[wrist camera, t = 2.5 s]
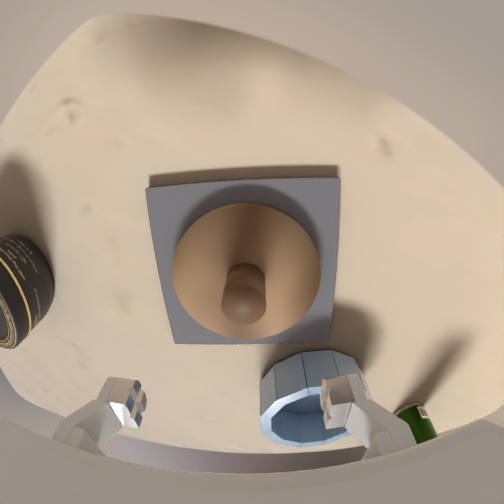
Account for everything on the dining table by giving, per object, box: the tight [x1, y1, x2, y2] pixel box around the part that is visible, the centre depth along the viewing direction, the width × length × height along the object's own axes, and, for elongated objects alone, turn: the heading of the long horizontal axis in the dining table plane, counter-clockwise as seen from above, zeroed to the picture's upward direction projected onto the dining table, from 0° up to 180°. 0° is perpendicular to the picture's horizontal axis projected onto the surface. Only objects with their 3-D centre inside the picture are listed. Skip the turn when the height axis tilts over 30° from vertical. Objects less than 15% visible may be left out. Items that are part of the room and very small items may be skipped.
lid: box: [172, 202, 321, 339], centre depth 20 cm, size 11×11×5 cm
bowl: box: [260, 350, 372, 447], centre depth 25 cm, size 11×11×5 cm
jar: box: [0, 235, 54, 349], centre depth 20 cm, size 10×10×8 cm
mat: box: [145, 177, 340, 344], centre depth 22 cm, size 14×14×1 cm
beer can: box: [394, 403, 438, 444], centre depth 25 cm, size 5×5×12 cm
